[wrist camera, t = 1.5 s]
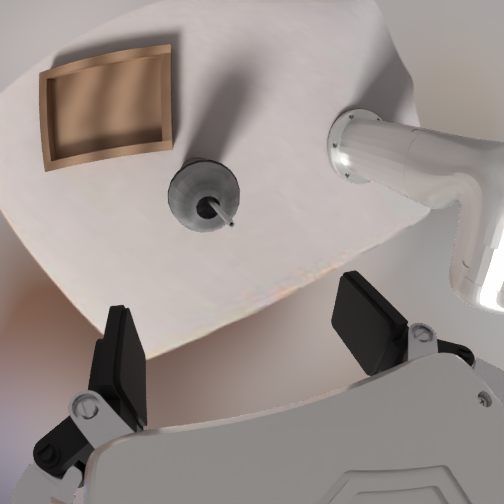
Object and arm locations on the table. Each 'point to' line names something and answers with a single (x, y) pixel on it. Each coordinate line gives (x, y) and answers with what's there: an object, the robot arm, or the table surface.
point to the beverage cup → (204, 195)
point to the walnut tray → (106, 107)
